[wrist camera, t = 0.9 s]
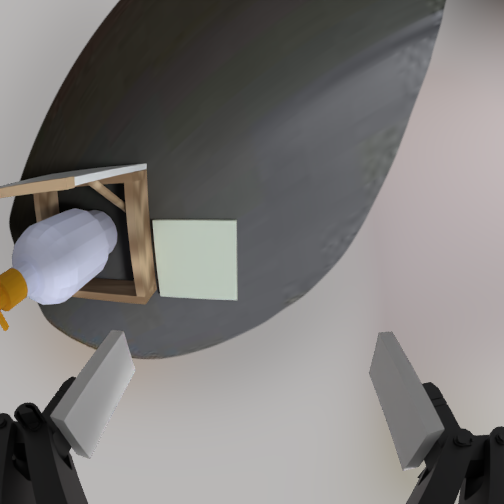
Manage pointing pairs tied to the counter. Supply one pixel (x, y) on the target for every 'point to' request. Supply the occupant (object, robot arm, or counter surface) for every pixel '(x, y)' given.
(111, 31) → the counter surface
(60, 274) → the soap bottle
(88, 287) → the frame
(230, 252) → the trivet
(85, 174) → the lid
